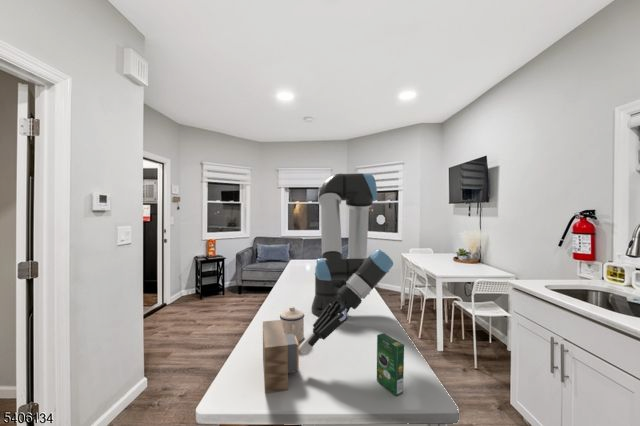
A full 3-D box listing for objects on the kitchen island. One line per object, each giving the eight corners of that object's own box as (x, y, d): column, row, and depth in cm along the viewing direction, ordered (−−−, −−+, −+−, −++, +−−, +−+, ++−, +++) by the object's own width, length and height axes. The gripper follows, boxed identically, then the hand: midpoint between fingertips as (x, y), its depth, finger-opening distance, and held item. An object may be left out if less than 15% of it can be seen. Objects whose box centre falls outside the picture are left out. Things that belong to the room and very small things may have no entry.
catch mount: (281, 356, 94) (281, 319, 94) (287, 390, 76) (287, 345, 76) (262, 358, 93) (262, 321, 92) (265, 393, 75) (264, 347, 75)
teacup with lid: (279, 333, 111) (279, 303, 111) (302, 332, 112) (302, 302, 112) (280, 348, 99) (280, 315, 99) (306, 346, 101) (306, 313, 101)
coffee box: (405, 393, 75) (405, 343, 75) (396, 397, 73) (396, 346, 73) (384, 378, 82) (383, 332, 82) (376, 381, 80) (376, 334, 80)
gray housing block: (295, 358, 89) (295, 333, 89) (299, 371, 83) (298, 343, 82) (267, 362, 88) (267, 336, 87) (268, 375, 81) (268, 346, 81)
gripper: (370, 306, 84) (314, 370, 80) (354, 293, 97) (306, 348, 93) (352, 289, 83) (295, 354, 79) (339, 279, 95) (289, 334, 92)
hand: (301, 351), depth 86 cm, fingers closed
